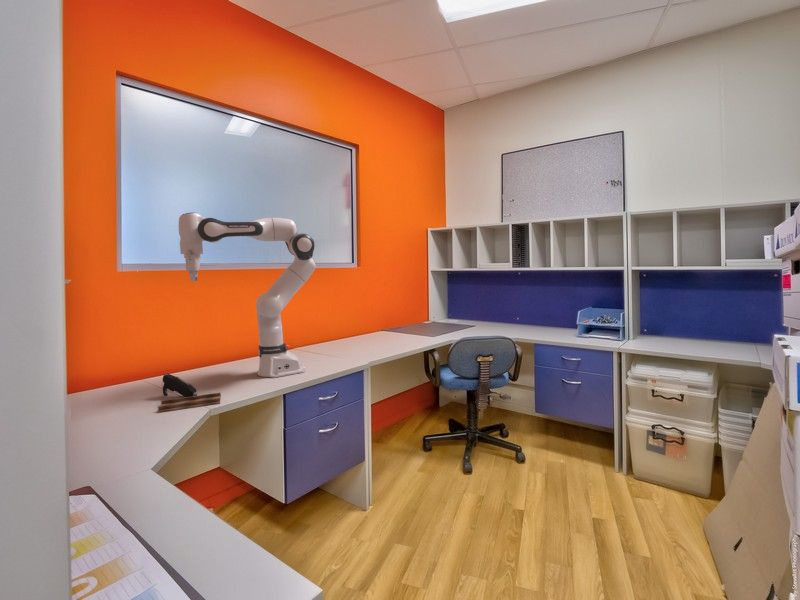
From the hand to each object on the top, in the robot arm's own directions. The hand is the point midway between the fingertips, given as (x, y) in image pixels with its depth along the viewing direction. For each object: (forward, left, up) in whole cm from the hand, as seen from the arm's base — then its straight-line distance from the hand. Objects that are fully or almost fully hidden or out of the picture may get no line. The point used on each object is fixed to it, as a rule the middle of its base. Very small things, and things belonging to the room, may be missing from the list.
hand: (194, 281), depth 175 cm
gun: (+7, +17, -47) cm, 50 cm away
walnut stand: (+2, +29, -46) cm, 55 cm away
